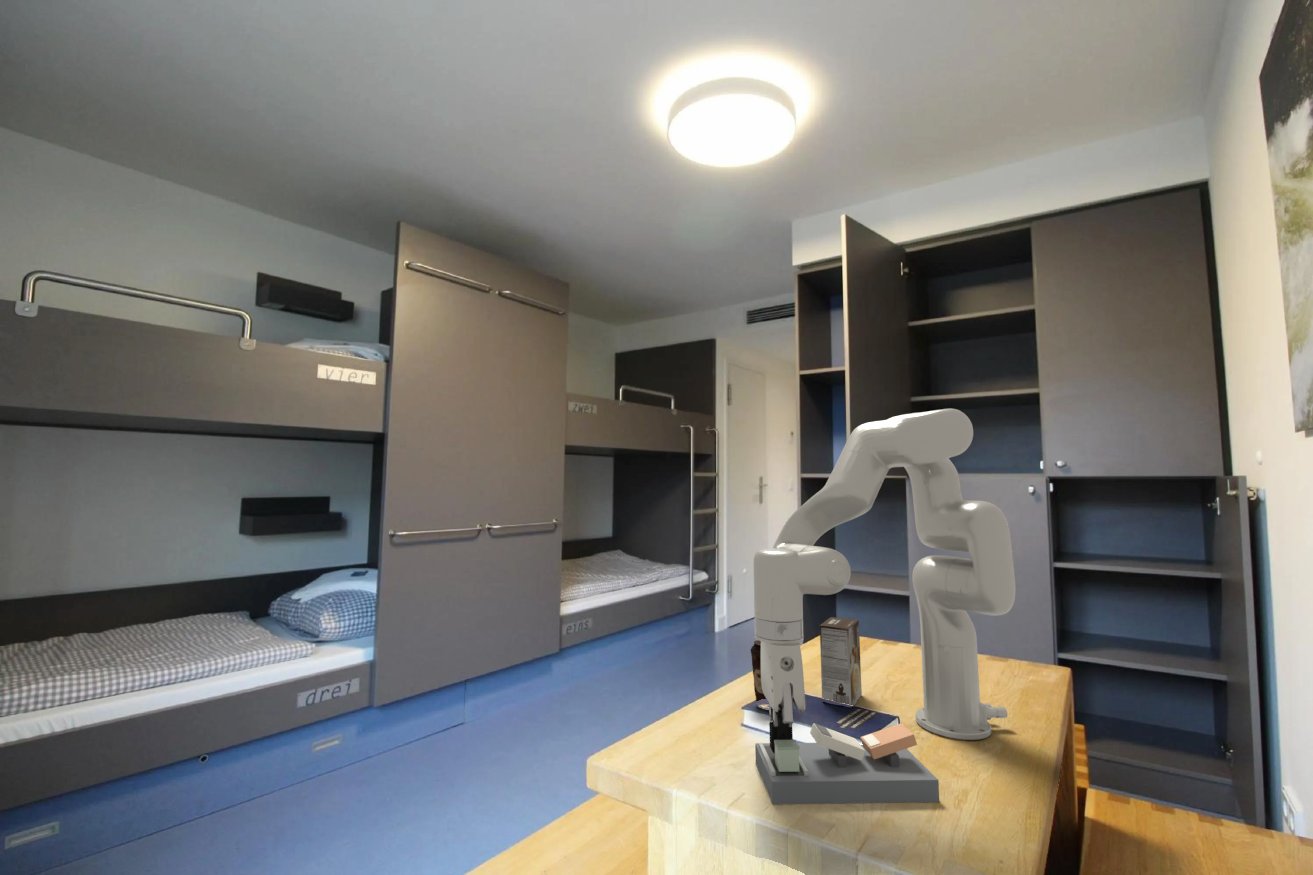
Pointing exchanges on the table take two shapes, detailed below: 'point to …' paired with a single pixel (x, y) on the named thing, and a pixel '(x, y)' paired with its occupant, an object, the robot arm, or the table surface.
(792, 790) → the panel
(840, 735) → the rocker cream
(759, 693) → the coffee cup
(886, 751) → the rocker terracotta
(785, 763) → the green slider block
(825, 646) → the coffee box
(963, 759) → the table surface
